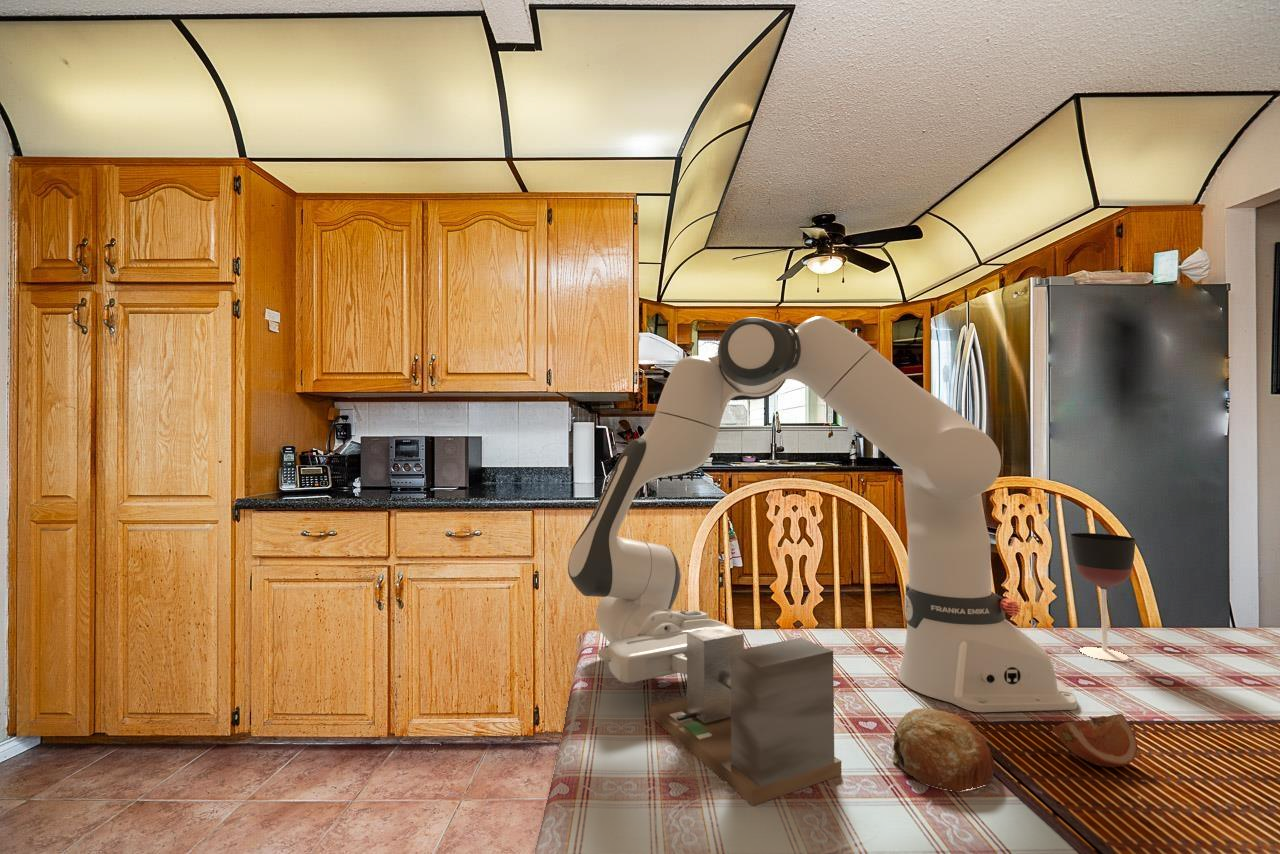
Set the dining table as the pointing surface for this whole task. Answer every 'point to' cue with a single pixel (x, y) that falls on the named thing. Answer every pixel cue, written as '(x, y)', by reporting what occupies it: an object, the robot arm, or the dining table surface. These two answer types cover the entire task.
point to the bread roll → (942, 750)
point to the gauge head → (710, 672)
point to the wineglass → (1103, 574)
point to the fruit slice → (1100, 740)
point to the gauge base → (767, 722)
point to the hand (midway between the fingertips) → (707, 670)
